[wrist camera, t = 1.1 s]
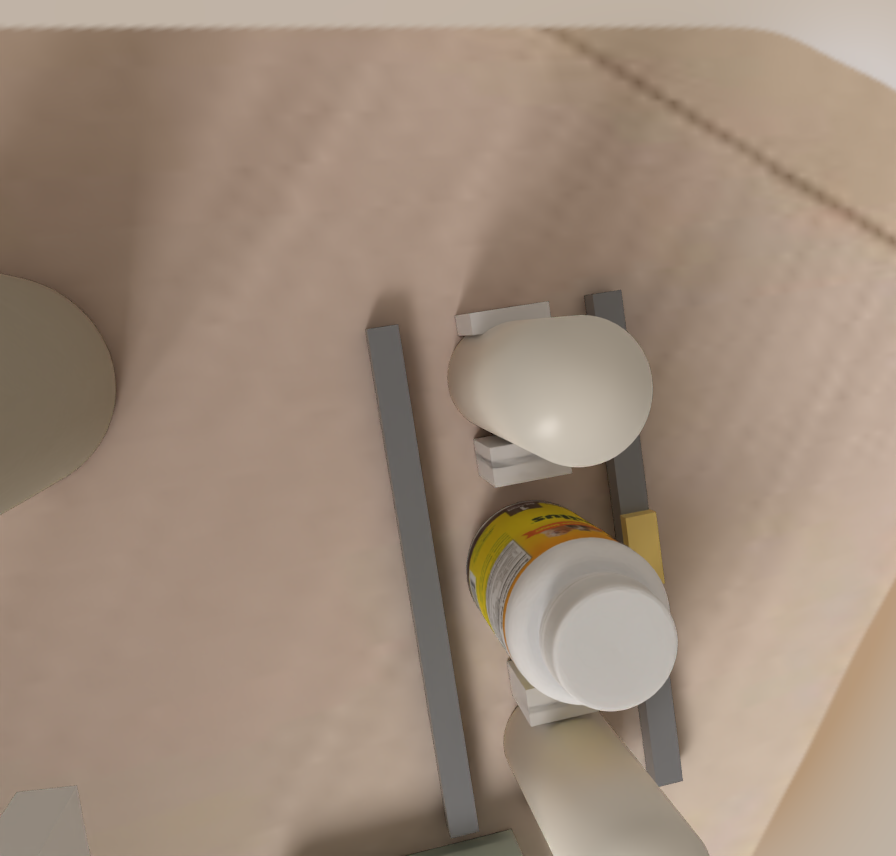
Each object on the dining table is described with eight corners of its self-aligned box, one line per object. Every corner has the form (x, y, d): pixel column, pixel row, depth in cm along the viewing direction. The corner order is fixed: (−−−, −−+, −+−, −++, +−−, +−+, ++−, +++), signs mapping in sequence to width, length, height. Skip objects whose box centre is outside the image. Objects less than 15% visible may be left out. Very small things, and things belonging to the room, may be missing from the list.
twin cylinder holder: (674, 768, 38) (805, 920, 28) (446, 825, 36) (501, 1007, 26) (613, 291, 35) (735, 272, 25) (364, 329, 33) (391, 325, 24)
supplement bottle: (615, 531, 36) (736, 605, 26) (554, 648, 36) (652, 767, 26) (501, 473, 35) (582, 527, 25) (438, 593, 35) (494, 696, 25)
